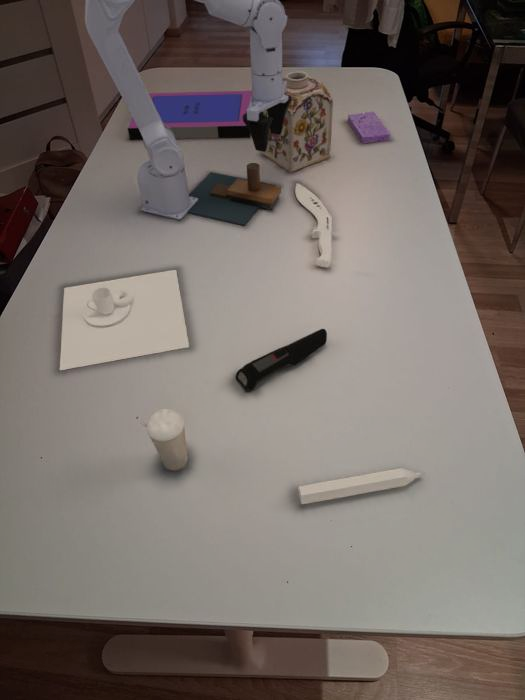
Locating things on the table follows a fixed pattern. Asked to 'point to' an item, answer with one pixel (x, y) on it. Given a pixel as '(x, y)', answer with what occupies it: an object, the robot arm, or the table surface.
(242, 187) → the brush
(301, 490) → the white pencil
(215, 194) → the grime chip
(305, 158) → the decorative jar
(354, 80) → the table surface
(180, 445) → the milkshake
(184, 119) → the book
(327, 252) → the knife
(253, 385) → the electric trimmer
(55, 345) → the table surface
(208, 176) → the mat
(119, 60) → the robot arm
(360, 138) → the sponge
